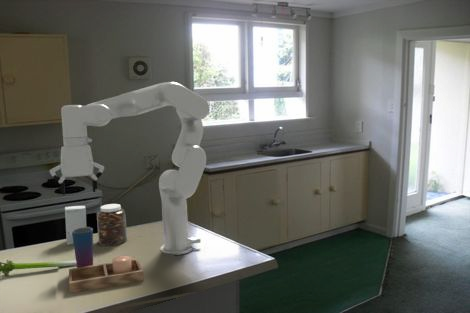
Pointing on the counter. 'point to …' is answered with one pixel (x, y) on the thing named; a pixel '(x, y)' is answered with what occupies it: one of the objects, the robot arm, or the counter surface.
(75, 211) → the skincare box
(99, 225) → the jar
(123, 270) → the peach capsule shape
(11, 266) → the leek
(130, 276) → the caddy
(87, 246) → the cup
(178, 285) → the counter surface
